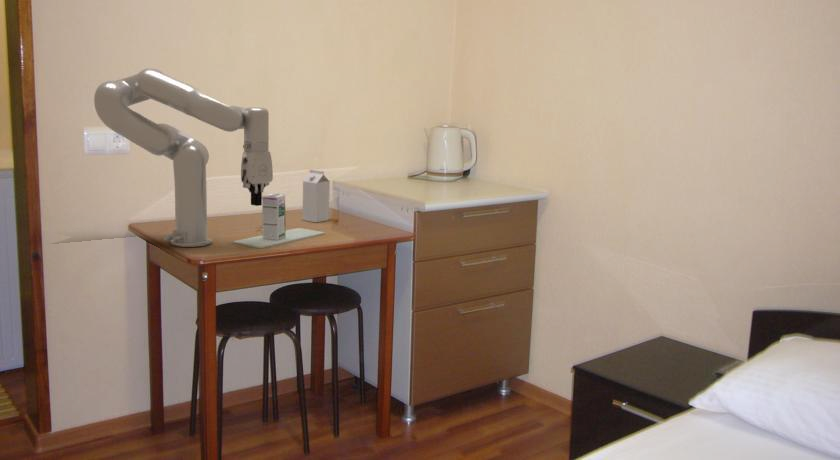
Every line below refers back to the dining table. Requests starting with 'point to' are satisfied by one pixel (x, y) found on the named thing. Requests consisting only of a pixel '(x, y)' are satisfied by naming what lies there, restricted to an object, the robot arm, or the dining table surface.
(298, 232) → the mat
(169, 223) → the dining table surface
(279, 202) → the syrup box
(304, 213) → the milk carton
